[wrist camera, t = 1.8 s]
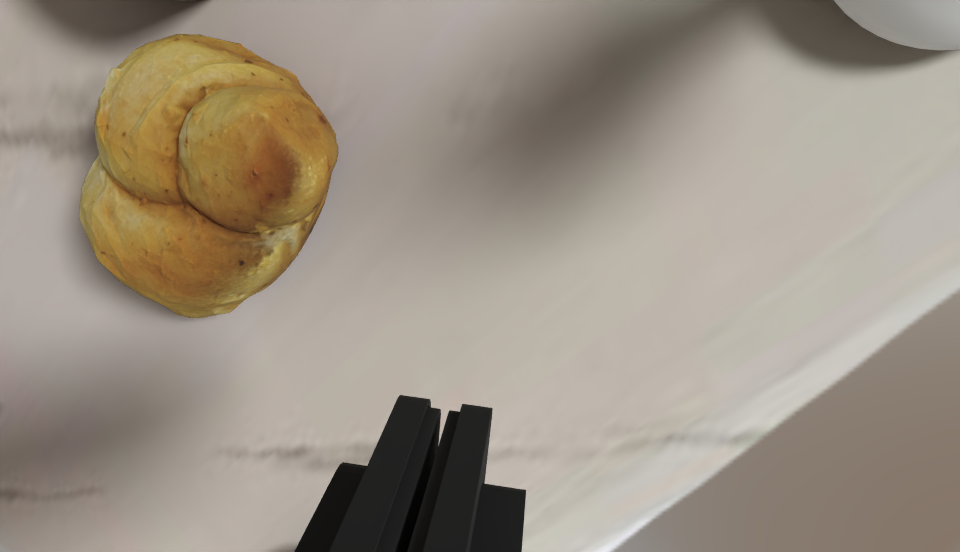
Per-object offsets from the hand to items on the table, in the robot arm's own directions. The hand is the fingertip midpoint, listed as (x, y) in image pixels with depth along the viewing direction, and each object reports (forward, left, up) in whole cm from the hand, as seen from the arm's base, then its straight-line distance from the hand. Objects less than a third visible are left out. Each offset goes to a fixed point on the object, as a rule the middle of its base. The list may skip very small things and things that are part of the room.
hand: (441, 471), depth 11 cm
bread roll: (0, -13, -19) cm, 23 cm away
